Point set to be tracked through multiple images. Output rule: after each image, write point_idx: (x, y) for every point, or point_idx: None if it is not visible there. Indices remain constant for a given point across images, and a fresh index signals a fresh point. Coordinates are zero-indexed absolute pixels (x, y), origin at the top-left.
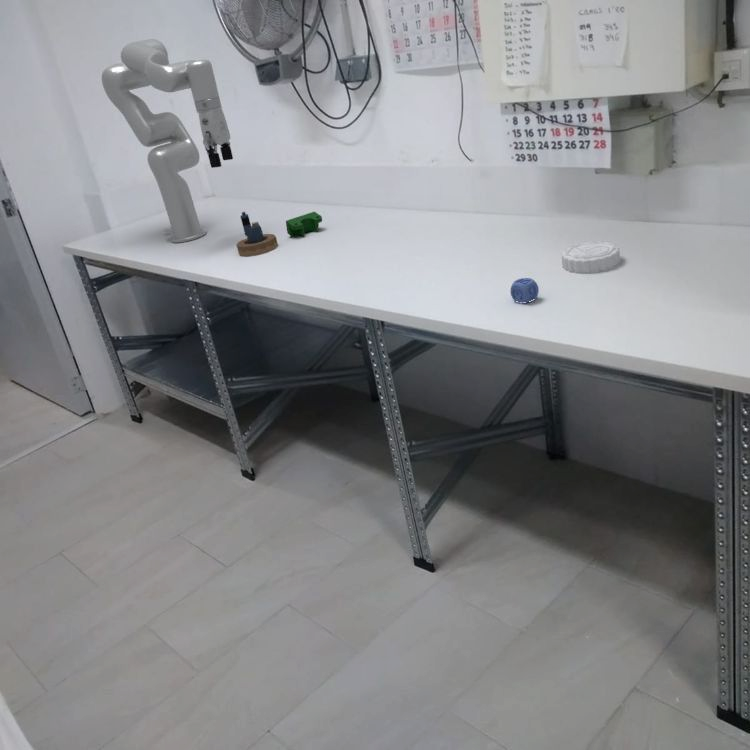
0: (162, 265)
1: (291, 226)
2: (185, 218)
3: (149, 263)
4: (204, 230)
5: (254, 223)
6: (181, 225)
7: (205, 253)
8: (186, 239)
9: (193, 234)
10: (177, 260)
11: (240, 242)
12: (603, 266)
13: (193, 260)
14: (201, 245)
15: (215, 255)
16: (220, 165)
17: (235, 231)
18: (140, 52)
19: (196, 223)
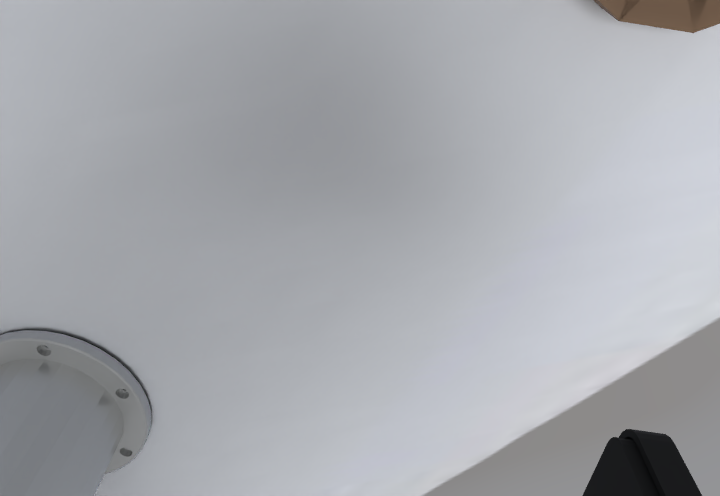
0: (538, 416)
1: None
2: (66, 470)
3: (448, 476)
4: (12, 346)
5: None
6: (96, 466)
7: (470, 250)
8: (143, 402)
9: (94, 385)
10: (500, 368)
11: (667, 5)
12: None
13: (573, 287)
14: (270, 306)
15: (569, 179)
16: (667, 446)
17: (46, 161)
18: None
19: (32, 401)
